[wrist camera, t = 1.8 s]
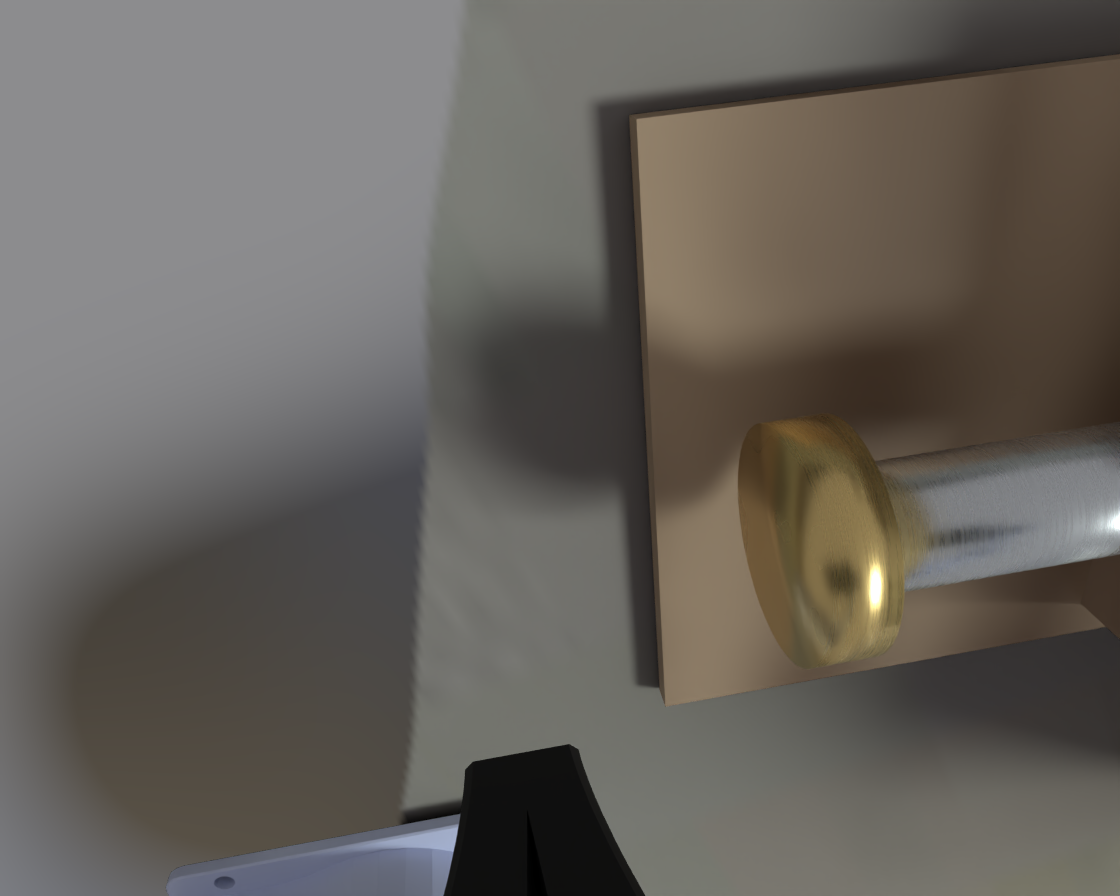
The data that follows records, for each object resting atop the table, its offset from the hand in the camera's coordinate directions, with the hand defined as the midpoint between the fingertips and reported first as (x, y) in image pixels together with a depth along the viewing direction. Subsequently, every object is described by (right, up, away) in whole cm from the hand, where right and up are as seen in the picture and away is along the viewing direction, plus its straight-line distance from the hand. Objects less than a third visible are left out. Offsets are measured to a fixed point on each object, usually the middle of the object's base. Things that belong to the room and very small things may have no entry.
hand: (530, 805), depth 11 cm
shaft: (+9, +5, +7) cm, 12 cm away
